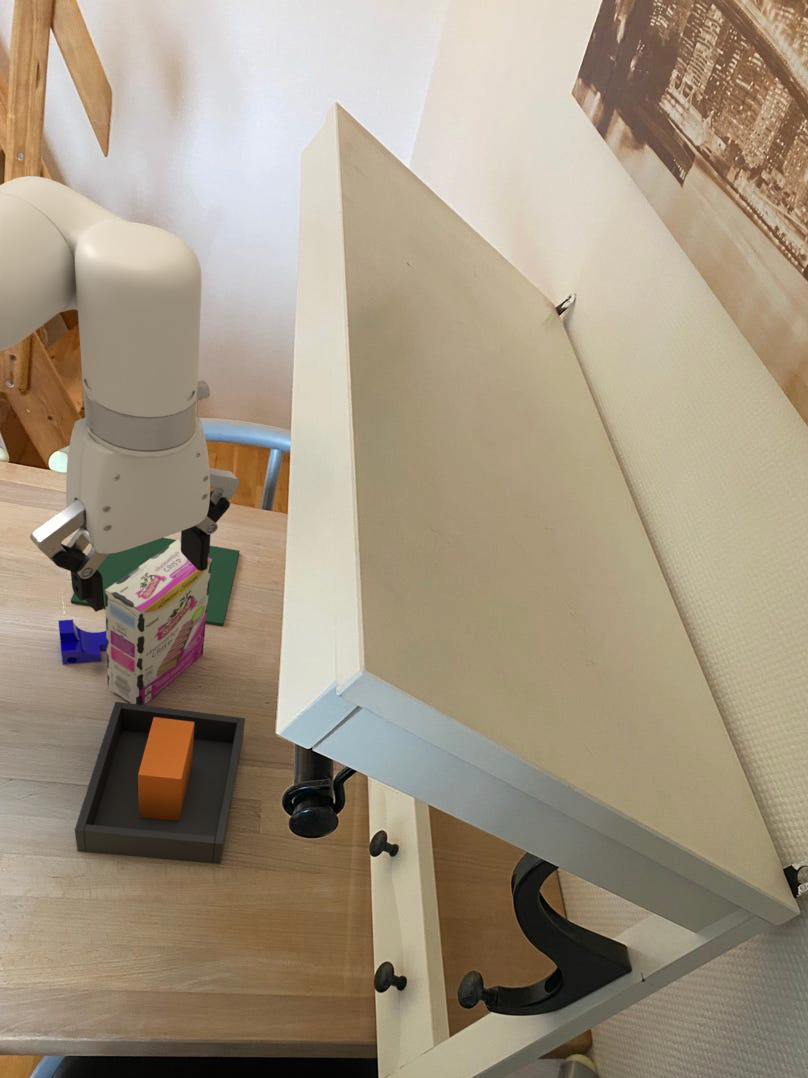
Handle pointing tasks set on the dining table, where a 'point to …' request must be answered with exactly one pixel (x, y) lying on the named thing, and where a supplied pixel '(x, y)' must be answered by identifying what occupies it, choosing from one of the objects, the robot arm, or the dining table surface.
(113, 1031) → the dining table surface
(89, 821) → the bin
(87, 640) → the cable holder
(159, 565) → the candy bar box
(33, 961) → the dining table surface
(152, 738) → the orange block
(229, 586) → the mat
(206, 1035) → the dining table surface
